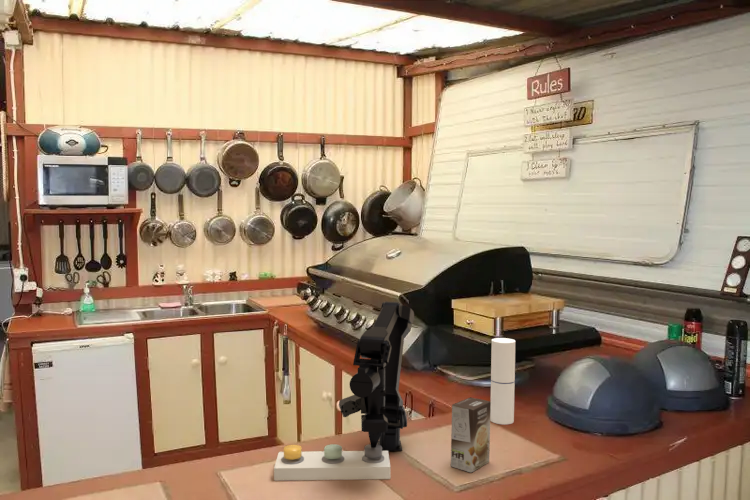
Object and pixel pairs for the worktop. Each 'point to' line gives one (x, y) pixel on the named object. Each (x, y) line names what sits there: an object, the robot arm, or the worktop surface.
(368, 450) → the button charcoal
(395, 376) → the robot arm
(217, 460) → the worktop surface
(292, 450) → the button amber
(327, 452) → the button sage
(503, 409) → the cylindrical container
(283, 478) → the button panel
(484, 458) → the coffee box
